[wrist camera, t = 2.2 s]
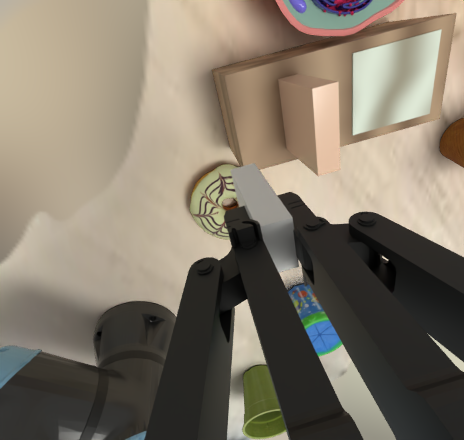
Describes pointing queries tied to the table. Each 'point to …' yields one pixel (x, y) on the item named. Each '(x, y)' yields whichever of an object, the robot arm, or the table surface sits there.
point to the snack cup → (314, 320)
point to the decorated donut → (213, 200)
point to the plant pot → (261, 405)
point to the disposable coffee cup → (454, 142)
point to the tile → (312, 121)
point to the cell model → (334, 14)
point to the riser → (340, 85)
